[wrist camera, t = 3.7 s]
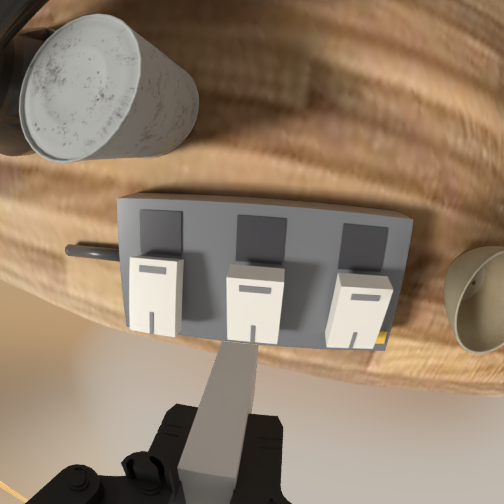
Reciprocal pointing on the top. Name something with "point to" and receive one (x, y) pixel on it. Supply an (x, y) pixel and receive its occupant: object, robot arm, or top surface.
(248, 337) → the block
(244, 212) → the power strip
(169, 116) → the grey concrete cylinder
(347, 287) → the rocker
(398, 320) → the top surface
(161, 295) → the rocker
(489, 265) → the flower pot
